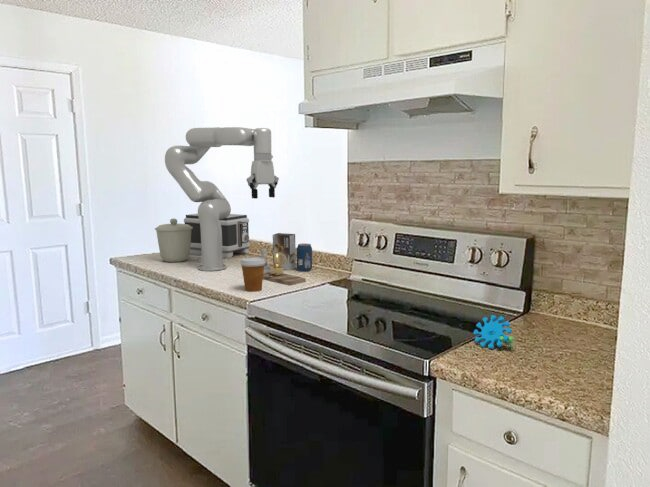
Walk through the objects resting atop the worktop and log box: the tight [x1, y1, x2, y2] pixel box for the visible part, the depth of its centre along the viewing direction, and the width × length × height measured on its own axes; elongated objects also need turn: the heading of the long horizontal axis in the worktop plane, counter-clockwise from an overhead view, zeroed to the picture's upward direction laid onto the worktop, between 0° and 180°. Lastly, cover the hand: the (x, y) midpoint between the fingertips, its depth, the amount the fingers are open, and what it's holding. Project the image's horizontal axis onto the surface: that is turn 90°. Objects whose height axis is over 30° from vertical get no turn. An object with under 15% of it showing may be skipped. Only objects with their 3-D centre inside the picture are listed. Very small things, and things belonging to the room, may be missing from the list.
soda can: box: [296, 243, 313, 273], centre depth 231 cm, size 7×7×12 cm
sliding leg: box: [269, 253, 284, 276], centre depth 214 cm, size 4×6×9 cm, turn 137°
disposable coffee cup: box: [239, 256, 265, 293], centre depth 196 cm, size 10×10×12 cm
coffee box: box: [272, 232, 297, 271], centre depth 235 cm, size 9×6×16 cm
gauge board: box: [260, 248, 306, 286], centre depth 214 cm, size 24×9×12 cm, turn 47°
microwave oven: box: [183, 213, 251, 260], centre depth 272 cm, size 18×34×21 cm, turn 61°
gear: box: [473, 314, 515, 350], centre depth 137 cm, size 11×6×10 cm
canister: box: [154, 217, 193, 263], centre depth 253 cm, size 18×18×21 cm
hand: (263, 197), depth 221 cm, fingers open, 9 cm apart
